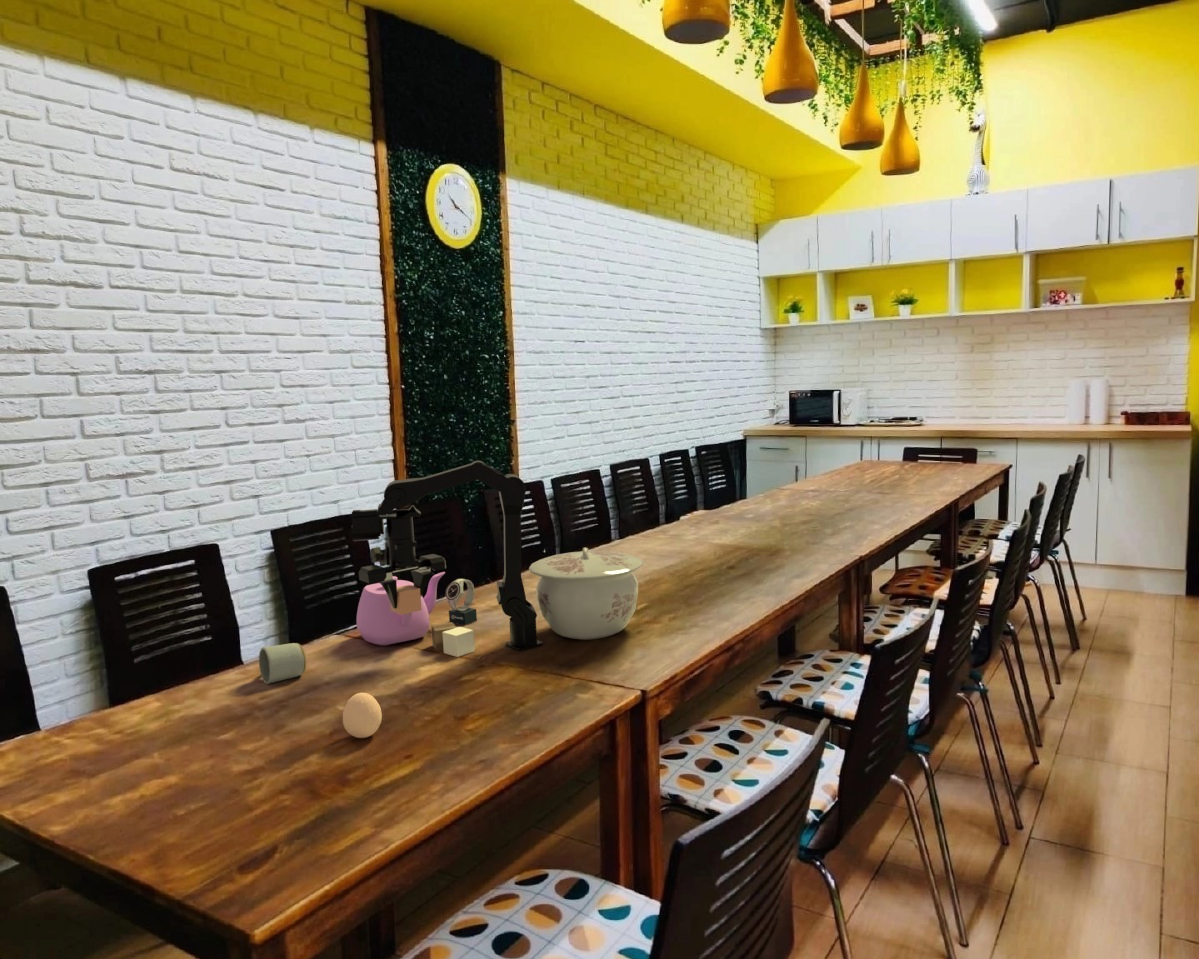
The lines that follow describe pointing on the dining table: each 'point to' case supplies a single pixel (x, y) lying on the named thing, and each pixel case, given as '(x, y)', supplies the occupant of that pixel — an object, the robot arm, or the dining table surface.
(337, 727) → the dining table surface
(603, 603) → the chamber pot
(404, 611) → the terracotta cube
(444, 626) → the walnut cube
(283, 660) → the ceramic mug
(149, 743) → the dining table surface
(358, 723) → the egg
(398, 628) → the teapot
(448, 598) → the watch
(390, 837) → the dining table surface
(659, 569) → the dining table surface
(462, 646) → the cream cube
